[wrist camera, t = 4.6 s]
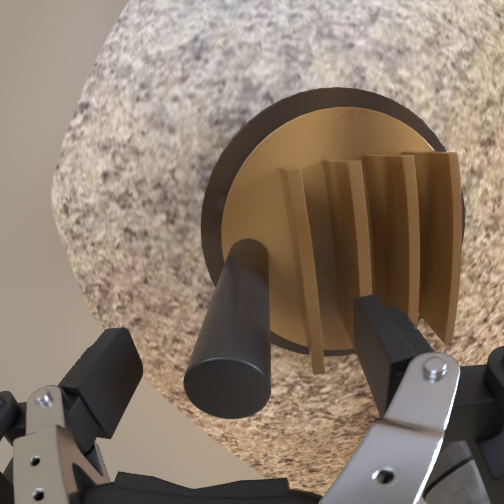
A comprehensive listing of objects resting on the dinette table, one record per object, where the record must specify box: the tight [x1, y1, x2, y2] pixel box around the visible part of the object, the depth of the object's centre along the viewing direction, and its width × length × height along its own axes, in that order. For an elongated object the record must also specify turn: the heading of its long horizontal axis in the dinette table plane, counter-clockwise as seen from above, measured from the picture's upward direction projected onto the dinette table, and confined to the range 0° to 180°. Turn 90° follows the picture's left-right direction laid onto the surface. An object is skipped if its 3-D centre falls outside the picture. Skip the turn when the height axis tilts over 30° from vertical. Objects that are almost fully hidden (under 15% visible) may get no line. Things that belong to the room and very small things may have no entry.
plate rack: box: [183, 107, 462, 419], centre depth 13 cm, size 16×16×12 cm
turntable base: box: [201, 87, 465, 356], centre depth 20 cm, size 19×19×2 cm
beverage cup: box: [422, 441, 491, 504], centre depth 16 cm, size 7×7×20 cm
